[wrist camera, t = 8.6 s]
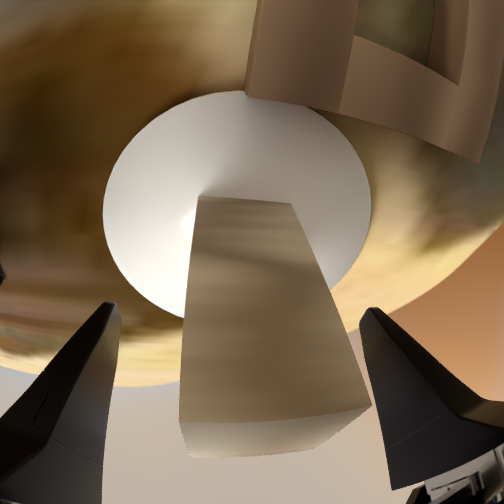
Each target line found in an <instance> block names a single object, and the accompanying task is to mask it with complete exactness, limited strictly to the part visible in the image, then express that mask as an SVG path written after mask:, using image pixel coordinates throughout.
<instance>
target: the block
mask: <svg viewBox="0 0 504 504" xmlns="http://www.w3.org/2000/svg"><path fill="white" fill-rule="evenodd" d="M370 406H372V403H371V400H370V397H369V394H368V391H367V388H366V385H365V382H364V380H363V377H362V374H361V371H360V368H359V365H358V363H357V360H356V357H355V354H354V352H353V349H352V346H351V344H350V341H349V339H348V336H347V333H346V331H345V328H344V325H343V323H342V320H341V318H340V315H339V313H338V310H337V308H336V305H335V303H334V300H333V298H332V295H331V293H330V290H329V288H328V286H327V283H326V281H325V278H324V276H323V274H322V271H321V269H320V267H319V264H318V262H317V260H316V257H315V255H314V253H313V251H312V248H311V246H310V244H309V242H308V239H307V237H306V235H305V233H304V231H303V228H302V226H301V224H300V222H299V220H298V217H297V215H296V213H295V211H294V209H293V207H292V205H291V203H282V202H272V201H262V200H250V199H238V198H225V197H210V196H198V200H197V207H196V214H195V221H194V229H193V236H192V244H191V252H190V261H189V270H188V279H187V289H186V300H185V311H184V324H183V338H182V353H181V372H180V399H179V423H180V427H181V430H182V434H183V437H184V440H185V444H186V447H187V450H188V454H189V457H248V456H262V455H273V454H282V453H290V452H297V451H304V450H310V449H314V448H316V447H317V446H319V445H320V444H322V443H323V442H325V441H326V440H327V439H329V438H330V437H332V436H333V435H335V434H336V433H337V432H339V431H340V430H341V429H343V428H344V427H345V426H347V425H348V424H349V423H351V422H352V421H353V420H355V419H356V418H357V417H359V416H360V415H361V414H362V413H363V412H365V411H366V410H367V409H368V408H370Z"/></svg>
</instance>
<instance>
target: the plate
mask: <svg viewBox="0 0 504 504" xmlns="http://www.w3.org/2000/svg"><path fill="white" fill-rule="evenodd" d="M198 196H210V197H225V198H238V199H250V200H262V201H272V202H282V203H291V205H292V207H293V209H294V211H295V213H296V215H297V217H298V220H299V222H300V224H301V226H302V228H303V231H304V233H305V235H306V237H307V239H308V242H309V244H310V246H311V248H312V251H313V253H314V255H315V257H316V260H317V262H318V264H319V267H320V269H321V271H322V274H323V276H324V278H325V281H326V283H327V286H328V288H329V290H331V289H332V288H333V287H334V286H335V285H336V284H337V283H338V282H339V281H340V280H341V279H342V278H343V277H344V276H345V274H346V273H347V272H348V271H349V270H350V268H351V266H352V265H353V263H354V262H355V260H356V259H357V257H358V255H359V253H360V251H361V249H362V247H363V245H364V242H365V239H366V236H367V233H368V229H369V224H370V218H371V194H370V187H369V183H368V179H367V175H366V172H365V169H364V167H363V165H362V162H361V160H360V158H359V156H358V154H357V153H356V151H355V150H354V148H353V147H352V145H351V144H350V142H349V141H348V140H347V139H346V138H345V136H344V135H343V134H342V133H341V132H340V131H339V130H338V129H337V128H336V127H335V126H334V125H333V124H331V123H330V122H329V121H328V120H326V119H325V118H324V117H323V116H321V115H319V114H318V113H316V112H314V111H313V110H311V109H309V108H307V107H306V106H301V105H295V104H289V103H284V102H277V101H271V100H264V99H256V98H249V97H248V96H247V95H246V94H245V92H244V91H242V90H235V91H224V92H215V93H211V94H207V95H203V96H199V97H195V98H193V99H190V100H188V101H185V102H183V103H181V104H178V105H176V106H174V107H172V108H171V109H169V110H167V111H166V112H164V113H163V114H161V115H159V116H158V117H156V118H155V119H154V120H153V121H151V122H150V123H149V124H148V125H147V126H146V127H144V128H143V129H142V130H141V131H140V132H139V133H138V134H137V135H136V136H135V137H134V138H133V139H132V140H131V142H130V143H129V144H128V145H127V146H126V148H125V149H124V150H123V152H122V154H121V155H120V157H119V159H118V160H117V162H116V164H115V165H114V168H113V170H112V173H111V175H110V178H109V180H108V183H107V187H106V192H105V196H104V204H103V223H104V232H105V236H106V240H107V244H108V247H109V249H110V252H111V254H112V257H113V259H114V261H115V262H116V264H117V266H118V268H119V269H120V271H121V272H122V274H123V275H124V276H125V278H126V279H127V280H128V281H129V283H130V284H131V285H132V286H133V287H134V288H135V289H136V290H137V291H138V292H139V293H141V294H142V295H143V296H144V297H146V298H147V299H148V300H150V301H151V302H152V303H154V304H156V305H157V306H159V307H161V308H162V309H164V310H166V311H168V312H171V313H173V314H175V315H177V316H180V317H183V318H184V311H185V300H186V289H187V279H188V270H189V261H190V252H191V244H192V236H193V229H194V221H195V214H196V207H197V200H198Z"/></svg>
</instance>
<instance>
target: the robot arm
mask: <svg viewBox="0 0 504 504" xmlns="http://www.w3.org/2000/svg"><path fill="white" fill-rule="evenodd" d="M2 283H3V281H2V278H1V276H0V286H1V284H2ZM120 329H121V317H120V314H119V310H118V307H117V304H116V303H115V302H104V303H102V305H101V306H100V307H99V308H98V309H97V310H96V311H95V312H94V313H93V314H92V315H91V316H90V317H89V318H88V320H87V321H86V322H85V323H84V324H83V325H82V326H81V327H80V328H79V329H78V331H77V332H76V333H75V334H74V335H73V336H72V337H71V338H70V340H69V341H68V342H67V343H66V344H65V345H64V346H63V348H62V349H61V350H60V351H59V352H58V353H57V355H56V356H55V357H54V358H53V359H52V360H51V362H50V363H49V364H48V365H47V366H46V368H45V369H44V371H42V372H41V374H40V375H39V376H38V377H37V379H36V380H35V381H34V382H33V383H32V385H31V386H30V387H29V388H28V389H27V390H26V391H25V392H24V393H23V395H22V396H21V397H20V398H19V399H18V400H17V401H16V402H15V403H14V404H13V405H12V406H11V407H10V408H9V409H8V410H7V412H6V413H5V414H4V415H3V416H2V417H1V418H0V504H102V503H101V502H102V474H103V458H104V447H105V438H106V429H107V421H108V414H109V407H110V401H111V395H112V389H113V383H114V377H115V372H116V367H117V359H118V348H119V338H120ZM359 329H360V334H361V339H362V346H363V351H364V358H365V362H366V367H367V370H368V374H369V378H370V382H371V386H372V390H373V394H374V399H375V403H376V407H377V412H378V416H379V421H380V426H381V431H382V436H383V441H384V445H385V452H386V458H387V464H388V470H389V476H390V483H391V488H392V490H397V489H400V488H403V487H407V486H410V485H413V484H416V483H419V482H422V481H424V484H423V485H421V486H419V487H417V488H415V489H413V491H412V493H411V495H410V497H409V498H408V500H407V503H406V504H504V402H502V401H492V400H487V399H484V398H481V397H480V396H479V395H477V394H476V393H475V392H473V391H472V390H471V389H470V388H469V387H467V386H466V385H465V384H464V383H462V382H461V381H460V380H459V379H458V378H456V377H455V376H454V375H453V374H452V373H451V372H449V371H448V370H447V369H446V368H445V367H444V366H443V365H442V364H441V363H439V361H438V360H436V359H435V358H434V357H433V356H432V355H431V354H430V353H429V352H428V351H427V350H426V349H425V348H424V347H422V346H421V345H420V344H419V343H418V342H417V341H416V340H415V339H414V338H412V337H411V336H410V335H409V334H408V333H407V332H406V331H405V330H403V329H402V328H401V327H400V326H399V325H398V324H397V323H396V322H394V321H393V320H392V319H391V318H390V317H389V316H388V315H386V314H385V313H384V312H383V311H382V310H381V309H380V308H378V307H370V308H368V309H367V310H366V312H365V313H364V315H363V317H362V318H361V320H360V323H359Z"/></svg>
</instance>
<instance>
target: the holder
mask: <svg viewBox="0 0 504 504" xmlns="http://www.w3.org/2000/svg"><path fill="white" fill-rule="evenodd" d="M358 6H359V0H258V3H257V9H256V15H255V20H254V26H253V32H252V38H251V44H250V51H249V57H248V64H247V70H246V77H245V84H244V90H243V91H244V92H245V94H246V95H247V96H248V97H249V98H256V99H264V100H271V101H277V102H284V103H289V104H295V105H301V106H306V107H311V108H316V109H320V110H325V111H329V112H333V113H338V114H342V115H346V116H349V117H353V118H357V119H360V120H364V121H367V122H371V123H374V124H378V125H381V126H384V127H387V128H390V129H393V130H396V131H399V132H402V133H405V134H407V135H410V136H413V137H416V138H418V139H421V140H424V141H426V142H429V143H431V144H434V145H436V146H438V147H441V148H443V149H445V150H448V151H450V152H452V153H454V154H457V155H459V156H461V157H463V158H465V159H467V160H469V161H471V162H473V163H475V164H477V165H479V162H480V159H481V156H482V153H483V150H484V147H485V143H486V140H487V137H488V133H489V130H490V126H491V122H492V118H493V114H494V110H495V105H496V100H497V95H498V90H499V85H500V78H501V72H502V64H503V55H504V0H435V9H434V19H433V28H432V36H431V43H430V49H429V55H428V61H427V66H424V65H422V64H420V63H418V62H416V61H414V60H412V59H410V58H408V57H406V56H404V55H402V54H400V53H398V52H396V51H393V50H391V49H389V48H387V47H384V46H382V45H379V44H377V43H375V42H372V41H369V40H367V39H364V38H362V37H359V36H356V35H354V31H355V25H356V19H357V13H358Z"/></svg>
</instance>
